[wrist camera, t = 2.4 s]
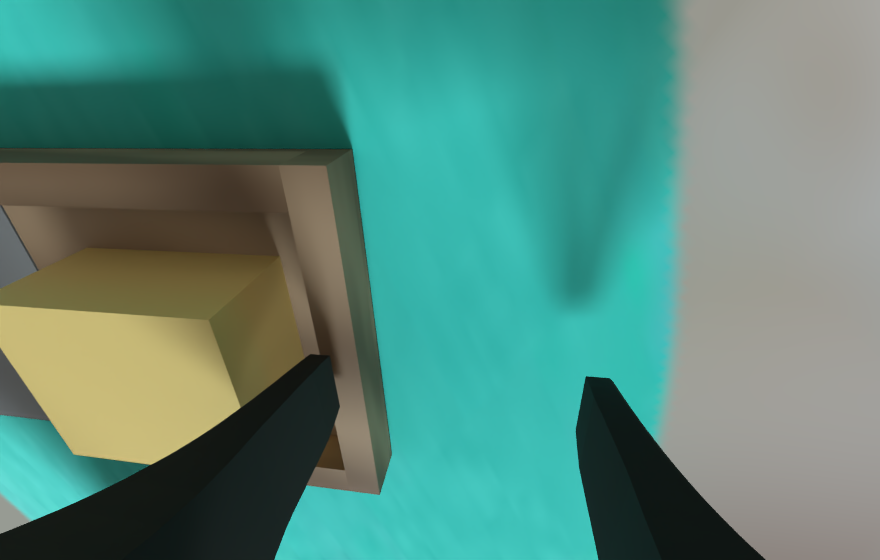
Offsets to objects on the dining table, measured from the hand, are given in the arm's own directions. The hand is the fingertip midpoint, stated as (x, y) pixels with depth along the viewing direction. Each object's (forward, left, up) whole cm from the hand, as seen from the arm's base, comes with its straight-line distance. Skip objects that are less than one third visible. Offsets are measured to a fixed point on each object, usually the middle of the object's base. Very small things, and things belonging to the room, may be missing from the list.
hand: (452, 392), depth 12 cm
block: (0, +9, -2) cm, 9 cm away
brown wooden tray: (0, +9, -2) cm, 10 cm away
